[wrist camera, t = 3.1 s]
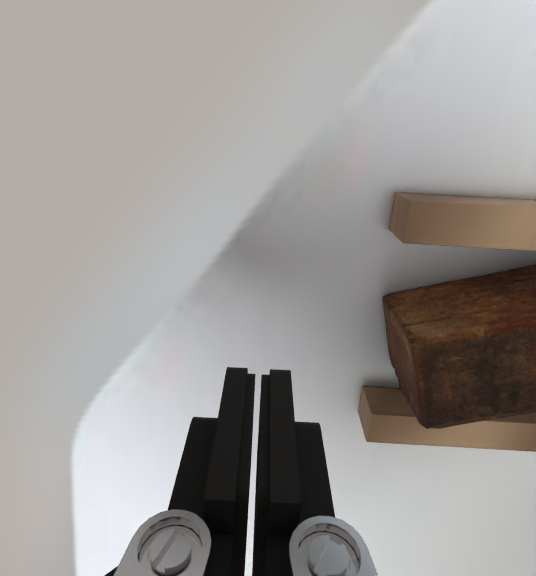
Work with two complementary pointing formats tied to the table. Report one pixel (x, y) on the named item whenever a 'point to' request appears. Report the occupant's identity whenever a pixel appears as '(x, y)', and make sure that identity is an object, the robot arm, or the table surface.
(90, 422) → the table surface
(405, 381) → the brick
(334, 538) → the robot arm
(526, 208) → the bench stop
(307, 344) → the table surface
